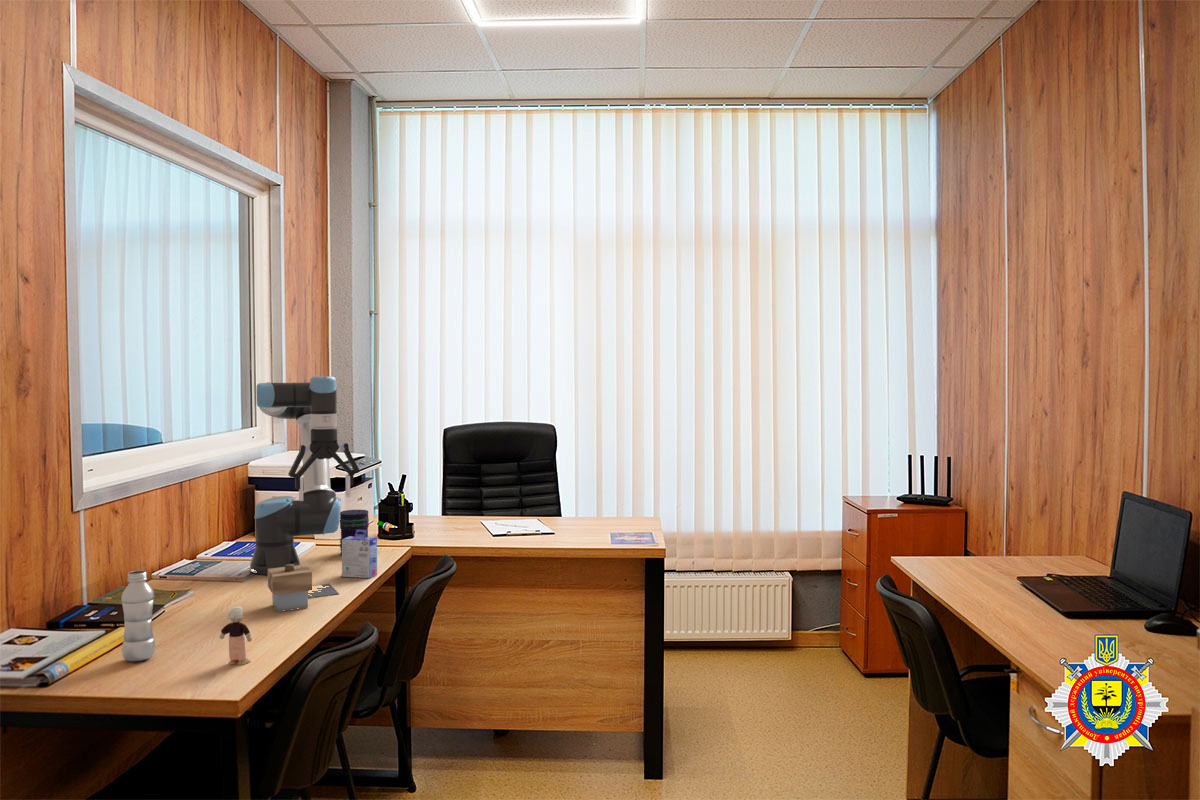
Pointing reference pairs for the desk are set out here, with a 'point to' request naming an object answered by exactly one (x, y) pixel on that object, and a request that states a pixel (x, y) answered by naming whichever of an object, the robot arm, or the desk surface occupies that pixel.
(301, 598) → the grey cubby shelf
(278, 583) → the lid
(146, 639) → the plastic bottle
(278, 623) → the desk surface
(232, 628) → the grandmother figurine
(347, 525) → the storage jar
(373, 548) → the ink cartridge box
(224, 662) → the desk surface
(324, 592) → the mat
